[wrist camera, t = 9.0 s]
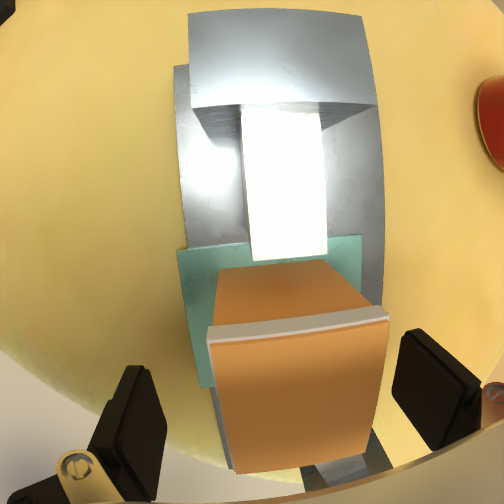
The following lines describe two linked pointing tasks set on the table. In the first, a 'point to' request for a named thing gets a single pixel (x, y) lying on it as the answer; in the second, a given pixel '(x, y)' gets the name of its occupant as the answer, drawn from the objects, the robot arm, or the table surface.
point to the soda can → (492, 117)
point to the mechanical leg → (6, 9)
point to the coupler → (294, 364)
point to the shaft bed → (279, 168)
